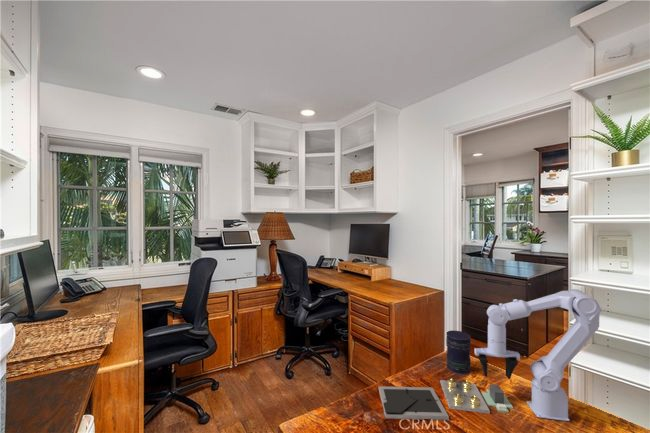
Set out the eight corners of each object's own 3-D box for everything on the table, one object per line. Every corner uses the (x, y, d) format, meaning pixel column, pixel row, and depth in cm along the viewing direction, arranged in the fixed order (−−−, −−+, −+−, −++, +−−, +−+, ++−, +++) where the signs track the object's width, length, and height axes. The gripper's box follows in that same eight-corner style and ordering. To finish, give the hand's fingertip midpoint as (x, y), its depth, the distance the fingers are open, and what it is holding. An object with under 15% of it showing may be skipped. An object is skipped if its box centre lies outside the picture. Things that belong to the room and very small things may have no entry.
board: (501, 392, 109) (501, 380, 109) (516, 413, 97) (516, 400, 97) (479, 389, 110) (479, 378, 110) (490, 410, 99) (490, 397, 99)
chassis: (474, 386, 113) (474, 376, 113) (489, 413, 97) (489, 402, 97) (440, 382, 115) (440, 373, 115) (449, 408, 100) (449, 397, 100)
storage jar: (441, 367, 127) (441, 334, 127) (452, 360, 133) (453, 328, 133) (464, 377, 119) (464, 341, 119) (474, 369, 125) (474, 335, 125)
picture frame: (385, 420, 95) (448, 422, 94) (385, 412, 95) (448, 413, 94) (378, 391, 110) (432, 393, 110) (378, 384, 110) (432, 385, 110)
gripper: (513, 336, 106) (513, 372, 106) (471, 333, 109) (471, 368, 109) (522, 344, 99) (522, 383, 99) (478, 340, 102) (477, 378, 102)
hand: (496, 376), depth 104 cm, fingers open, 7 cm apart
